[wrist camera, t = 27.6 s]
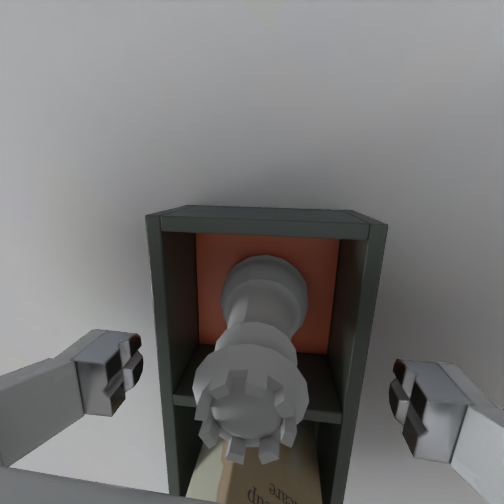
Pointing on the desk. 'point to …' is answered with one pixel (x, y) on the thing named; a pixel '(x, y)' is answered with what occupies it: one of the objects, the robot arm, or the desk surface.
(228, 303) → the rook chess piece
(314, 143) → the desk surface
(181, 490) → the divided tray
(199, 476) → the box
